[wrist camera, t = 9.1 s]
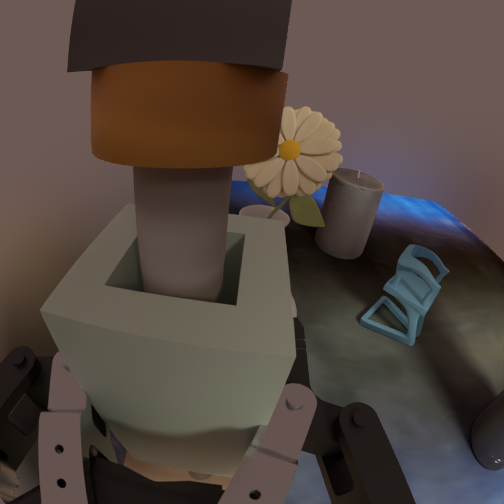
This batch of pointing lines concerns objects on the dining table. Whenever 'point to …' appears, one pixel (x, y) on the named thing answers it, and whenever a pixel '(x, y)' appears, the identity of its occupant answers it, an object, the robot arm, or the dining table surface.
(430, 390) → the dining table surface
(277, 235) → the square hollow tube
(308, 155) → the flower in vase
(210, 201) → the post
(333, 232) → the pillar candle
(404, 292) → the chair
